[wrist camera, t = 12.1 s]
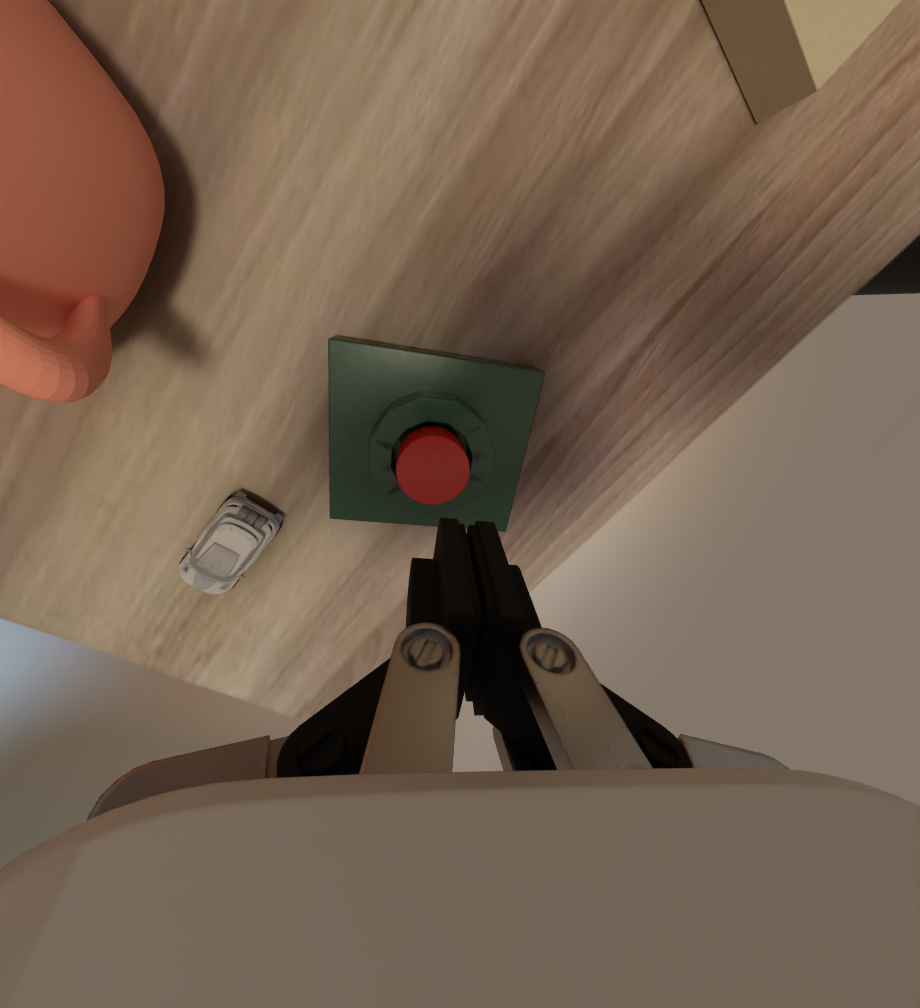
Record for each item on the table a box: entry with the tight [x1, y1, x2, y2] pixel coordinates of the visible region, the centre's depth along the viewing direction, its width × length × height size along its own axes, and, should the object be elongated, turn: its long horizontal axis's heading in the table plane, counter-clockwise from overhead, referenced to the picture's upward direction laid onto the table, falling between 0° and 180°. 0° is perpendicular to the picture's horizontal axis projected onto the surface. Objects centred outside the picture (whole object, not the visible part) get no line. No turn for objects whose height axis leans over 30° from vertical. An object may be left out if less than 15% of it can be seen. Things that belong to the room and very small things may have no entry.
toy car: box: [179, 491, 283, 594], centre depth 23 cm, size 4×8×3 cm, turn 137°
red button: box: [396, 426, 470, 504], centre depth 19 cm, size 4×4×2 cm
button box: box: [328, 336, 545, 532], centre depth 21 cm, size 11×10×4 cm
